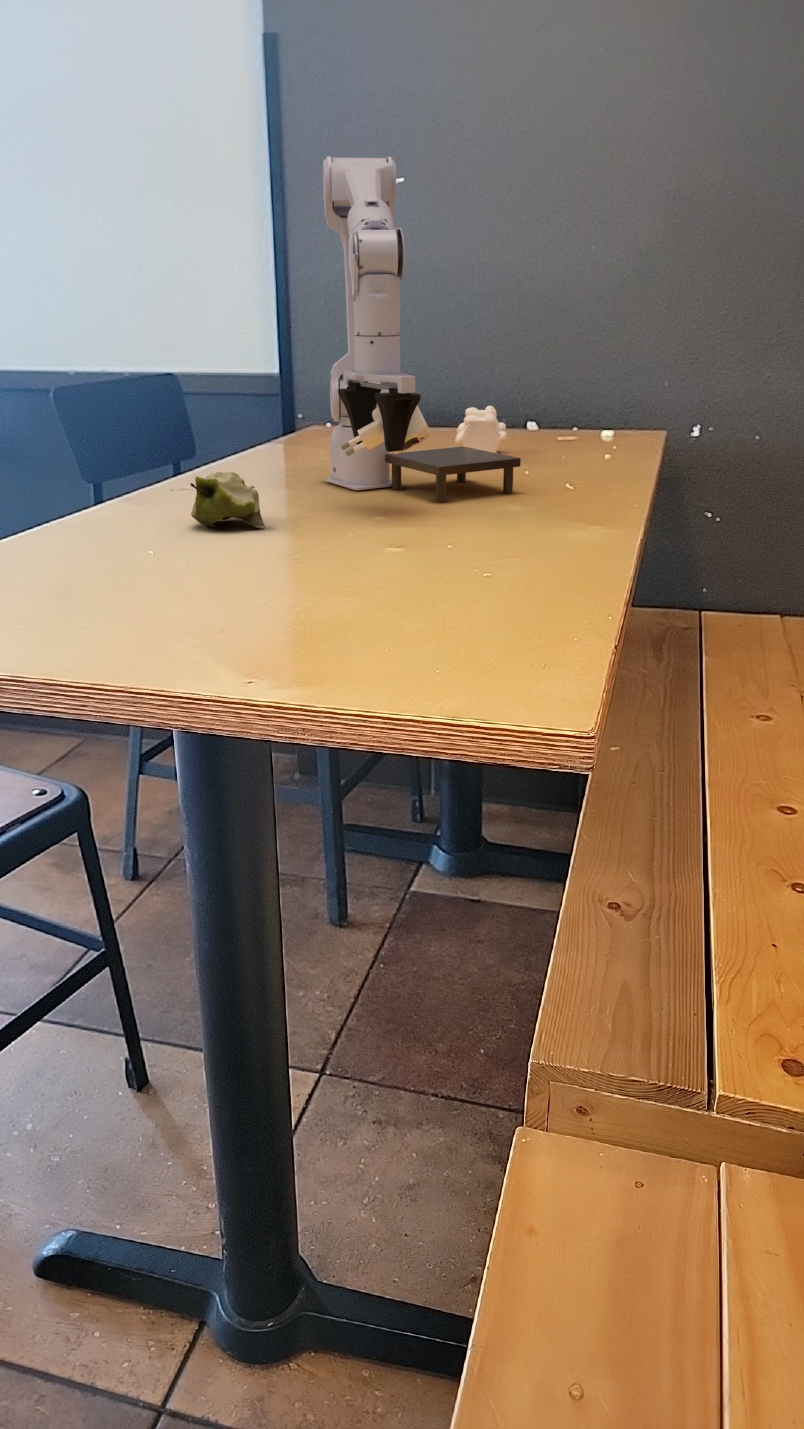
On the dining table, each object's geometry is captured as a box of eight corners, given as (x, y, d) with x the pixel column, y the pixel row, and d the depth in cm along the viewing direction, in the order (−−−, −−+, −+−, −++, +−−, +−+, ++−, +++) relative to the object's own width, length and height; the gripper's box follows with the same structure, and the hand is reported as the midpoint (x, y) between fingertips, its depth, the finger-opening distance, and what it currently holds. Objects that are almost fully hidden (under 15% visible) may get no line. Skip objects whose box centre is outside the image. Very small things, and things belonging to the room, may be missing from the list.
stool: (385, 488, 157) (385, 454, 155) (463, 479, 164) (463, 446, 162) (438, 503, 146) (438, 466, 144) (519, 493, 153) (520, 458, 151)
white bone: (506, 465, 176) (508, 414, 173) (454, 464, 177) (455, 414, 174) (505, 451, 190) (506, 404, 187) (456, 451, 191) (457, 404, 188)
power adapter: (349, 468, 135) (330, 428, 136) (358, 478, 140) (340, 440, 141) (427, 426, 133) (408, 386, 134) (434, 438, 138) (415, 399, 139)
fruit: (210, 547, 128) (191, 481, 125) (191, 538, 136) (172, 476, 133) (281, 525, 131) (263, 460, 128) (257, 517, 139) (241, 456, 136)
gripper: (321, 334, 136) (324, 442, 141) (379, 339, 124) (380, 457, 130) (369, 332, 139) (370, 438, 144) (430, 337, 128) (429, 452, 133)
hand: (378, 447), depth 137 cm, fingers closed on power adapter, 7 cm apart
